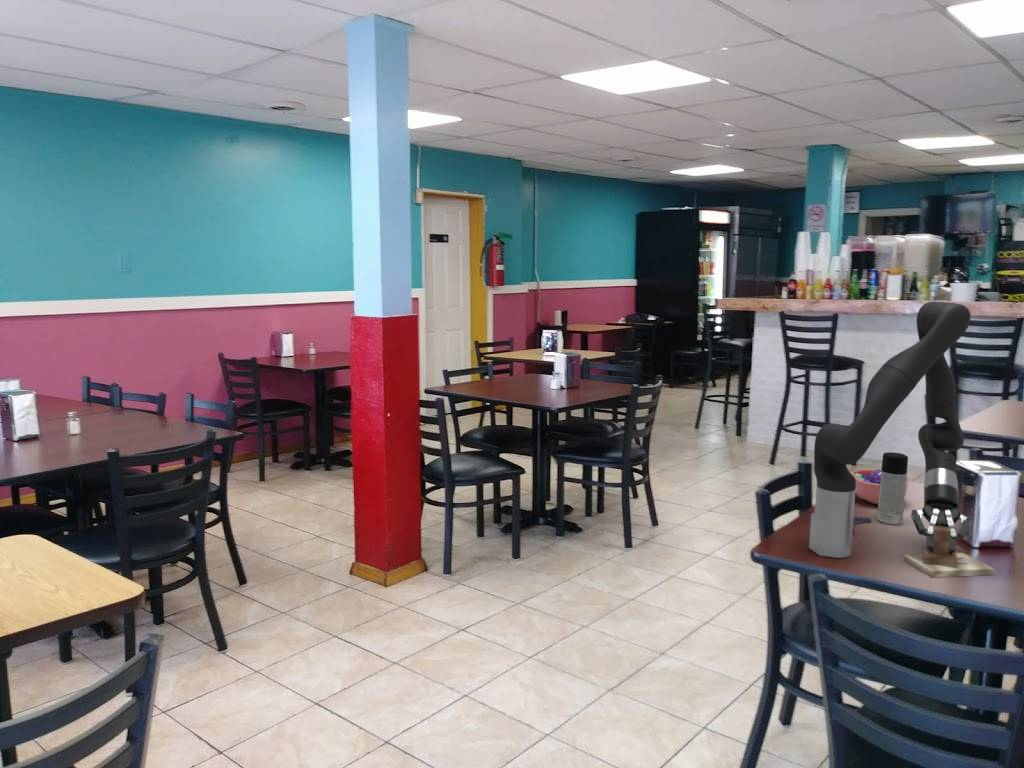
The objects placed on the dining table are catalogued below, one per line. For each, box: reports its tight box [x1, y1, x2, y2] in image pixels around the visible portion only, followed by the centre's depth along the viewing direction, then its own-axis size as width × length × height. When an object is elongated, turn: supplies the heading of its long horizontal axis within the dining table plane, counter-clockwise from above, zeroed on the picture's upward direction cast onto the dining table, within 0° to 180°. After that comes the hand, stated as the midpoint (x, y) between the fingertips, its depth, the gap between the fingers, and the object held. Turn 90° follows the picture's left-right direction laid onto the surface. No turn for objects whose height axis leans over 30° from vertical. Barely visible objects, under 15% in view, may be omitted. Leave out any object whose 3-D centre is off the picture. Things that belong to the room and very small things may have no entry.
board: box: [902, 552, 995, 578], centre depth 192 cm, size 16×11×2 cm
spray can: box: [877, 451, 909, 526], centre depth 226 cm, size 7×7×20 cm
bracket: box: [852, 516, 872, 536], centre depth 223 cm, size 14×15×3 cm
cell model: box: [850, 468, 911, 505], centre depth 246 cm, size 17×20×11 cm
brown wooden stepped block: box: [921, 526, 957, 568], centre depth 191 cm, size 7×5×8 cm
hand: (941, 551), depth 189 cm, fingers closed on brown wooden stepped block, 3 cm apart
